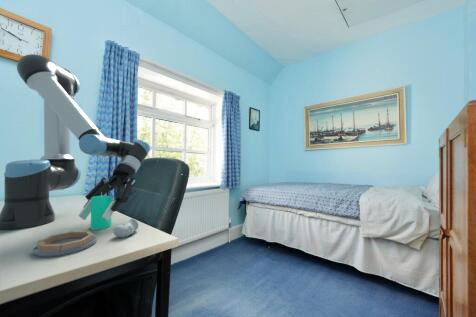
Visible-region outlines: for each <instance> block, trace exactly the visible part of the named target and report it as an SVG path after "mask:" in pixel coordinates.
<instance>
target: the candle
mask: <svg viewBox="0 0 476 317" xmlns="http://www.w3.org/2000/svg"><path fill="white" fill-rule="evenodd" d="M112 199H113V198H112V195H102V192H101V196H95V197H92V198H91V212H90V228H91V230H99V229H105V228H109V227H111V226H112V216H111V217H110V219H109V221H106V220H105V219H104V218H103V217H102V216H103V214H104V212H105V211H106V209H107V208H108V206H109V205H110V203H111V202H112Z"/></svg>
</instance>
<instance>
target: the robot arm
mask: <svg viewBox="0 0 476 317" xmlns="http://www.w3.org/2000/svg"><path fill="white" fill-rule="evenodd" d="M16 70H17V73H18V76H20V78H21V80H22V82H24V83H25V85H27V87H28V88H29V89H31V90H32V91H36V92H37V94H38V95H39V97H41V98H42V99H43V136H44V137H43V138H44V139H43V141H44V142H43V144H44V145H43V147H44V148H43V149H44V150H43V151H44V154H43V155H42V156H41V157H40V158H39V159H28V160H27V159H22V160H15V161H10V162H8V163H6V165H5V171H4V173H3V176H4V203H3V204H4V205H3V207H2V209H1V210H0V230H16V229H17V230H18V229H24V228H31V227H37V226H41V225H42V226H43V225H46V224H49V223H51V222H54V221H55V220H56V214H55V211H54V209H53V207H52V206H53V205H52V203H51V201H50V192H52V191H58V190H60V191H62V190H63V191H64V190H65V189H66V190H67V189H69V188H72V187H74V186H75V185H76V184H77V183H78V182H79V181H80V178H81V169H80V167H78V165H76V164H75V160H76V159H75V158H74V157H73V156H72V155H71V133H72V134H73V135H74V136H75V138H76V139H77V140H78V141H79V142H78V147H79V150H80V151H81V152H82V153H83V154H85V155H91V156H95V157H96V156H100V157H101V156H102V157H103V156H104V157H114V158H119V159H120V160H119V162H118V164H117V165H116V167H114V169H113V171H112V175H111V176H110V177H109V178H106V177H102V178H101V179H100V180H99V182H98V183H97V184H96V185H95V186H94V187H93V188H92V189H91V190H90V191H89V193H88V194H86V195H85V199H86V200H87V202H86V203H85V205H84V206H83V208H82V210H81V211H80V213H79V214H78V217H79V218H81V219H82V220H83V221H85V220H86V219H87V218H88V216H90V215H91V198H92V197H95V196H101V192H102V195H104V196H106V195H107V193H108V192H110V191H112V190H114V189H116V193H115V197H114V199H113V200H112V202H111V203H110V205H109V206H108V208H107V209H106V211H105V212H104V214H103V216H102V217H103V218H104V219H105V220H106V221H109V219H110V217H111V218H112V216H113V214H114V213H115V212H116V211H117V210H118V208H119V207H120V205H122V204H123V203H124V204H127V203H128V202H129V199H130V196H131V193H132V191H133V188H134V186H135V185H136V184H137V181H136V180H135V178H134V177H135V175H136V173H137V172H138V170H139V169H140V167H141V165H142V163H144V160H146V157H148V154H149V152H150V150H151V147H150V144H149V143H148V142H147V141H145V140H143V139H136V140H134V142H128V141H122V140H119V139H117V138H116V139H115V138H113V137H106V136H104V135H103V133H102V132H101V131H100V130H99V129H98V128H97V126H96V125H95V124H94V122H92V120H91V119H90V118H89V117H88V116H87V114H86V113H85V112H84V111H83V110H82V109H81V108H80V106H79V105H78V104H77V103H76V101H75V100H74V99H75V96H76V95H77V94H78V93H79V92H80V87H81V86H80V85H81V84H80V81H79V79H78V78H77V77H76V76H75V74H73V72H71V71H70V70H68V69H66V68H65V67H63V66H60V65H59V64H57V63H56V62H54V61H52V60H51V59H50V58H47V57H46V56H43V55H40V54H34V53H33V54H32V53H31V54H25V55H22V57H20V58H19V59H18V61H17V62H16Z"/></svg>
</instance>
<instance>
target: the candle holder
mask: <svg viewBox="0 0 476 317" xmlns="http://www.w3.org/2000/svg"><path fill="white" fill-rule="evenodd" d="M96 243H97V236H95V234H94V233H93V232H92V231H90V230H73V231H71V230H70V231H66V232H62V233H61V232H60V233H57V234H51V235H50V236H47V237H45V238H42V239H39V240H38V241H37V242H36V244H37V245H36V246H35V247H34V248H33V249H32V255H33V256H34V257H36V258H54V257H63V256H67V255H71V254H75V253H78V252H82V251H84V250H86V249H89V248H91V247H93V246H94V245H95V244H96Z"/></svg>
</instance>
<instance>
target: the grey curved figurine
mask: <svg viewBox="0 0 476 317" xmlns="http://www.w3.org/2000/svg"><path fill="white" fill-rule="evenodd" d="M138 228H139V222H138V220H137V219H135V218H131V219H129V221H128V222H123V223H122V224H118V225H117V226H115V227H114V228H113V231H112V232H113V235H114V236H115V237H117V238H123V239H124V238H127V237H129V236H130V235H132V234H134V233H135V231H137V230H138Z"/></svg>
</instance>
